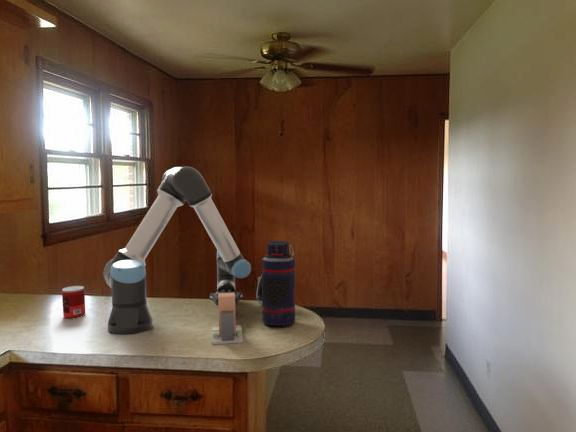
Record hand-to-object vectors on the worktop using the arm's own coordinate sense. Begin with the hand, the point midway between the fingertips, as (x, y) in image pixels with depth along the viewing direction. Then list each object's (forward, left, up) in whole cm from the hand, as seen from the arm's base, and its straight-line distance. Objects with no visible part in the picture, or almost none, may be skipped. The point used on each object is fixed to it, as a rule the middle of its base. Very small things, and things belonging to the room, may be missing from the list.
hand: (226, 307), depth 166 cm
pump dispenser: (+18, +24, -7) cm, 31 cm away
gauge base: (0, -9, -7) cm, 11 cm away
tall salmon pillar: (0, -9, -6) cm, 11 cm away
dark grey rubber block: (0, -15, -7) cm, 17 cm away
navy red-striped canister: (+19, +2, -7) cm, 21 cm away
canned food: (-58, +24, -7) cm, 63 cm away
